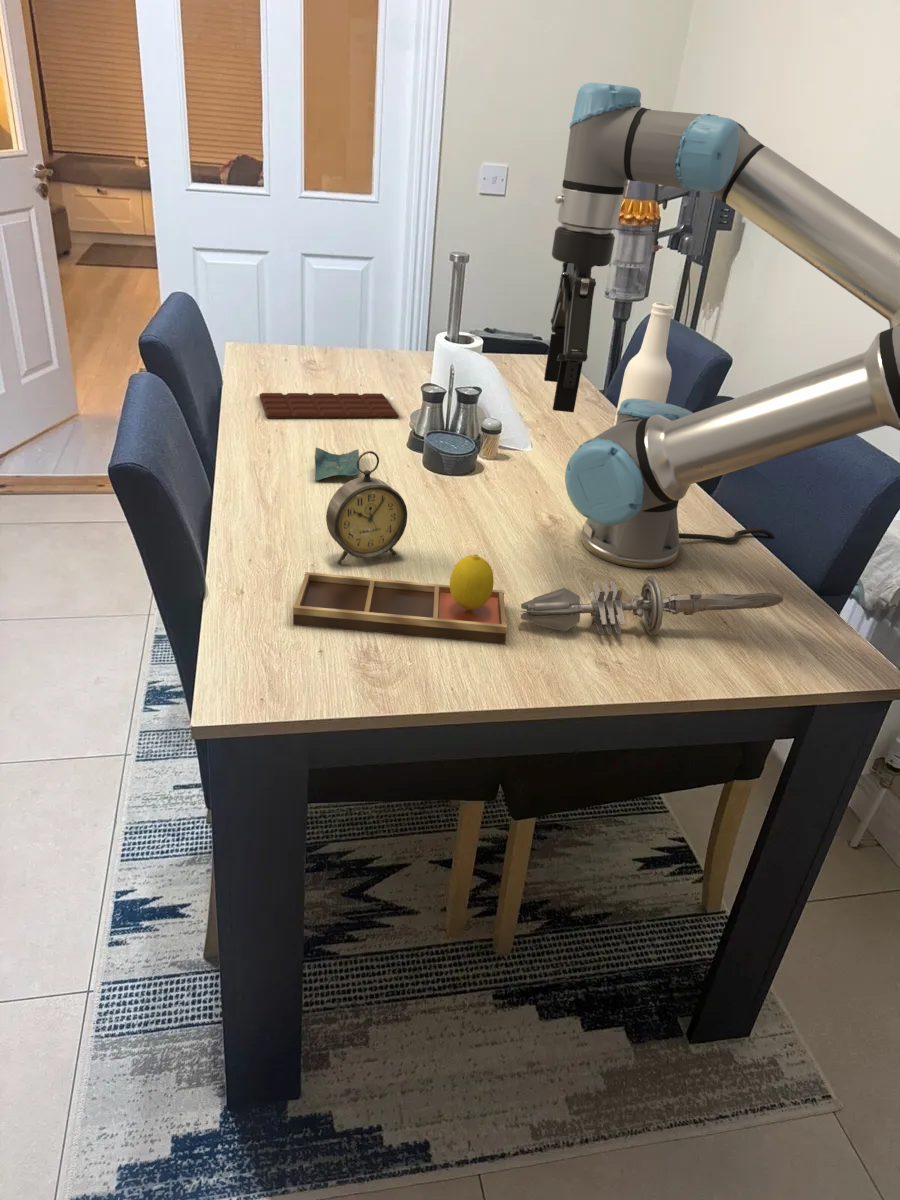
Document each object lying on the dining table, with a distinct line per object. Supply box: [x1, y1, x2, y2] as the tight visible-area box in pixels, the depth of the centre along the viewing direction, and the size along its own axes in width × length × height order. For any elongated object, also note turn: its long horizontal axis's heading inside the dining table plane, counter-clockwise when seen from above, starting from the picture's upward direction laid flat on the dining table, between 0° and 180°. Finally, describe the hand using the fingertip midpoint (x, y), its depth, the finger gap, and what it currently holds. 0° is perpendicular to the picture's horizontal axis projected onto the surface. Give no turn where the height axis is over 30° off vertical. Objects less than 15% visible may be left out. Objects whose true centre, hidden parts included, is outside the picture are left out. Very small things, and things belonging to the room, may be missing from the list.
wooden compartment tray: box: [292, 571, 508, 644], centre depth 109 cm, size 27×9×2 cm, turn 89°
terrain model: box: [314, 447, 361, 481], centre depth 149 cm, size 13×8×2 cm, turn 6°
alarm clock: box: [325, 450, 408, 565], centre depth 119 cm, size 11×5×16 cm, turn 117°
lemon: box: [449, 554, 495, 611], centre depth 107 cm, size 6×6×8 cm
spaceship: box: [519, 574, 785, 637], centre depth 111 cm, size 8×35×8 cm
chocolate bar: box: [259, 392, 399, 419], centre depth 178 cm, size 27×14×1 cm, turn 107°
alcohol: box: [613, 301, 675, 426], centre depth 162 cm, size 9×9×30 cm
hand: (558, 395), depth 116 cm, fingers open, 13 cm apart
